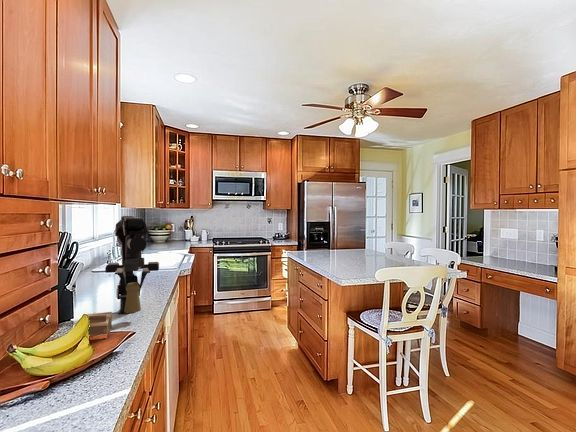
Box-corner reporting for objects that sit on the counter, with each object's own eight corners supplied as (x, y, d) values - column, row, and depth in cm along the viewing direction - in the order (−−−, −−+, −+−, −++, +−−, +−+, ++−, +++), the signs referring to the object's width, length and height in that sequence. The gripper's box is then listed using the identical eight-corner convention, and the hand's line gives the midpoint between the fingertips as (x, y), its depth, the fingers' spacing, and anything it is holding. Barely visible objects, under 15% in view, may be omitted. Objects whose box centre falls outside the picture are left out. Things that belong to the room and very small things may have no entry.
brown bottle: (137, 307, 130) (137, 280, 130) (143, 310, 126) (144, 282, 126) (121, 310, 126) (122, 282, 126) (127, 313, 122) (128, 285, 122)
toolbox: (86, 329, 117) (87, 316, 117) (111, 326, 120) (111, 314, 120) (79, 341, 106) (79, 328, 106) (106, 338, 109) (107, 325, 109)
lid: (87, 316, 117) (87, 308, 117) (111, 314, 120) (111, 306, 120) (79, 328, 106) (79, 319, 106) (107, 325, 109) (107, 316, 109)
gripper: (102, 252, 115) (102, 295, 115) (158, 251, 121) (157, 292, 122) (108, 248, 125) (107, 288, 126) (159, 248, 132) (158, 285, 132)
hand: (133, 288), depth 126 cm, fingers closed on brown bottle, 5 cm apart
